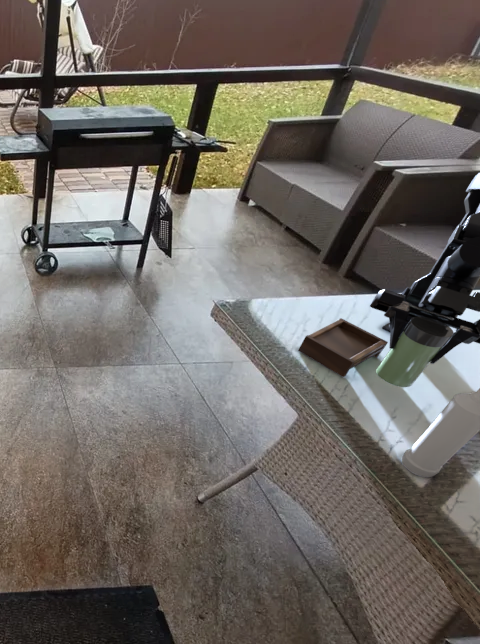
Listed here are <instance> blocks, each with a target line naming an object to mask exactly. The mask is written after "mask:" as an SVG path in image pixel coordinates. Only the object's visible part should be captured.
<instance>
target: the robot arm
mask: <svg viewBox="0 0 480 644" xmlns="http://www.w3.org/2000/svg"><path fill="white" fill-rule="evenodd" d="M465 192H466V193H468V194H467V195H466V197H465V198H464V200H463V204H464V209H465V215H464V216H463V218H462V220H461V221H460V222H459V224H458V225H457V226H456V227H455V229H454V230H453V232H452V233H451V235H450V236H449V238H448V240H447V244H446V246H444V249H443V250H442V252H441V253H440V255H439V257H438V258H437V260H436V262H435V263H434V265H433V266H432V268H431V270H430V271H429V273H428V274H426V275H424V276H422V277H420V278H419V279H417V280H415V281H414V282H413V283H412V285H411V286H410V287H409V286H407V287H406V288H405V289H404V290H403V291H402V292H401V293H399V292H396V291H393V290H390V289H386V288H384V289H381V290H379V291H378V292H377V294H376V295H375V296H374V297H373V300H372V301H371V303H370V305H369V307H371V308H372V309H374V310H377V311H379V312H383V313H384V314H383V316H384V317H385V318H388V321H389V322H388V323H386V324H385V325H383V326H382V327H381V329H382V330H383V331H386V332H388V333H389V350H390V349H393V347H394V346H395V344H396V343H397V341H398V338H399V337H400V335H401V334H402V332H403V331H404V329H405V327H406V326H407V324H408V323H409V321H410V320H411V319H412V318H413V317H418V316H421V317H428V318H432V319H435V320H438V321H440V322H443V323H444V324H446V325H448V326H449V327H450V328H451V329H452V328H453V329H454V330H455V331H454V332H453V335H452V337H451V338H450V339H449V340H448V342H447V343H446V344H445V345H444V346H443V347H442V348H441V349H440V351H439V352H438V353H437V354H436V356H435V357H434V358H433V359H432V361H431V362H430V363H429V364H431V365H434V364H435V363H436V362H438V361H439V360H440V359H442V358H443V357H444V356H446V354H448V353H449V352H451V351H452V350H453V349H454V348H456V347H457V346H459V345H461V344H466V345H469V344H472V343H476V344H479V345H480V318H479V319H477V320H476V321H474V322H471V321H468V320H465V319H462V318H459V317H461V316H462V315H463V314H464V313H465V311H466V309H468V310H471V311H475V312H478V313H480V292H479V291H475V292H474V293H473V294H472V292H473V291H474V290H475V288H476V286H477V284H478V282H479V281H480V172H478V173H477V174H476V175H475V176H474V177H473V179H472V180H471V182H470V183H469V184H468V186H467V188H466V190H465ZM458 316H459V317H458Z"/></svg>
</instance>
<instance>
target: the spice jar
mask: <svg viewBox="0 0 480 644" xmlns="http://www.w3.org/2000/svg"><path fill="white" fill-rule="evenodd" d="M453 333H454V330H453V329H452V327H449V326H448V325H446V324H444V323H443V322H440V321H438V320H435V319H432V318H428V317H421V316H418V317H413V318H412V319H411V320H410V321H409V323H408V324H407V326H406V327H405V329H404V331H403V332H402V334H401V335H400V337H399V338H398V341H397V343H396V344H395V346H394V347H393V349H390V348H389V351H388V352H387V353H386V355H385V357H383V359H382V360H381V362H380V363H379V365H378V366H377V367H376V369H375V373H376V374H377V376H378V378H380V379H381V380H382V381H384V382H385V383H388V384H389V385H391V386H394V387H397V388H398V387H399V388H409V387H411V386H413V385H414V383H415V382H416V381H417V379H418V378H419V377H420V376H421V375H422V374H423V372H424V371H425V370H426V368H427V367H428V366H429V364H431V363H430V362H431V361H432V359H433V358H434V357H435V356H436V354H437V353H438V352H439V351H440V349H441V348H442V347H443V346H444V345H445V344H446V343H447V342H448V340H449V339H450V338H451V337H452V335H453Z"/></svg>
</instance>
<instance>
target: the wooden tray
mask: <svg viewBox="0 0 480 644" xmlns="http://www.w3.org/2000/svg"><path fill="white" fill-rule="evenodd" d="M388 344H389V342H388V341H387V340H385V339H383V338H381V337H379V336H377V335H376V334H374V333H371V332H369V331H367V330H366V329H363V328H361V327H359V326H358V325H355V324H354V323H352V322H350V321H347V320H345V319H344V318H339V319H338V320H337V319H336V321H334V322H332V323H330V324H328V325H326V326H324V327H322V328H320V329H318V330H316V331H314V332H311V333H310V334H307V335H305V336H304V339H303V340H302V342H301V344H300V346H299V348H298V350H297V351H298V352H299V353H301V354H303V355H304V356H306V357H308V358H310V359H311V360H313V361H315V362H316V363H318V364H320V365H322V366H323V367H324V368H327V369H328V370H330V371H332V372H333V373H335V374H336V375H338V376H340V377H342V378H344V377H346V376H347V374H348V373H349V371H350V370H351V369H353V368H355V367H356V366H358V365H360V364H362V363H363V362H365V361H367V360H368V359H370V358H372V357H373V358H376V359H377V358H378V357H380V355H381V354H382V352H383V350H384V349H385V348H386V346H387V345H388Z"/></svg>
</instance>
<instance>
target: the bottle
mask: <svg viewBox="0 0 480 644" xmlns="http://www.w3.org/2000/svg"><path fill="white" fill-rule="evenodd" d="M479 432H480V387H479V388H478V389H477V390H476V391H471V392H470V393H469V392H468V393H466V392H465V393H464V392H463V393H462V392H460V393H456V394H455V395H454V396H453V397H452V398H451V399H450V401H449V402H448V403H447V404H446V406H445V407H444V408H443V409H442V411H441V412H440V413H439V414H438V415H437V416H436V418H435V419H434V420H433V421H432V422H431V423H430V425H429V426H428V427H427V429H425V430H424V432H423V433H422V434H421V436H420V437H419V438H418V439H417V440H416V442H415V443H413V445H412V446H411V447H410V448H409V449H406V450H405V451H404V453H403V454H402V456H401V459H400V460H401V464H402V465H403V466H404V468H405V469H407V470H408V471H409V472H410V473H412V474H414V475H416V476H419V477H422V478H432V477H434V476H436V475H438V474H439V473H440V471H441V469H442V467H443V466H444V465H445V464H446V463H447V462H448V461H449V460H450V459H451V458H452V457H453V456H454V455H456V453H458V452H459V451H460V450H461V449H462V448H463V447H464V446H465V445H466V444H468V442H469V441H470V440H471V439H473V438H474V436H476V435H477V434H478V433H479Z"/></svg>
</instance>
